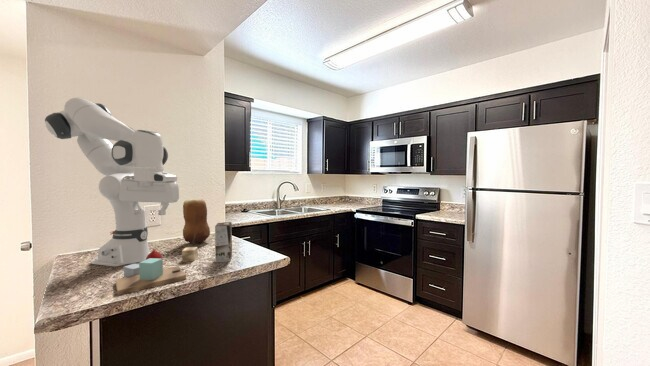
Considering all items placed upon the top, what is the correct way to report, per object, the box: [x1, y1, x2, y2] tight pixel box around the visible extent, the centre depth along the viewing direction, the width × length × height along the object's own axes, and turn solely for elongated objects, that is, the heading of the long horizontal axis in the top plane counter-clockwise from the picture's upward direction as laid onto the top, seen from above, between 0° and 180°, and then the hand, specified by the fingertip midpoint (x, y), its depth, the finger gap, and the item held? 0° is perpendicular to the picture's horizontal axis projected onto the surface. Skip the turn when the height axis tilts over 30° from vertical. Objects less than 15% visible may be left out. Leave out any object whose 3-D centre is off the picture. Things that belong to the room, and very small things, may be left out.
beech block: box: [181, 246, 199, 263], centre depth 120 cm, size 5×5×5 cm
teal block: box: [138, 258, 164, 280], centre depth 96 cm, size 5×5×6 cm
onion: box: [146, 248, 163, 261], centre depth 109 cm, size 6×6×8 cm
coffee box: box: [214, 221, 233, 263], centre depth 121 cm, size 9×6×16 cm
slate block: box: [123, 263, 139, 278], centre depth 101 cm, size 6×4×4 cm, turn 66°
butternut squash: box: [182, 198, 211, 245], centre depth 146 cm, size 14×13×25 cm
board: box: [115, 266, 187, 296], centre depth 96 cm, size 20×12×2 cm, turn 131°
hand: (149, 214), depth 95 cm, fingers open, 8 cm apart
